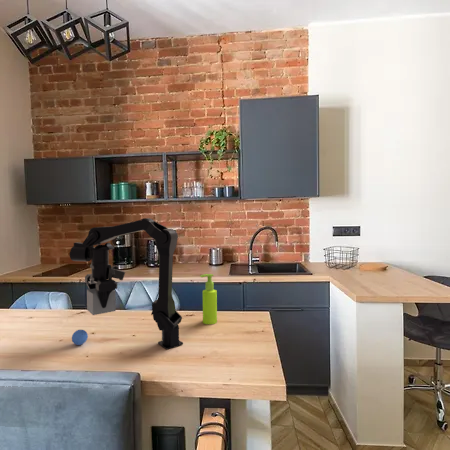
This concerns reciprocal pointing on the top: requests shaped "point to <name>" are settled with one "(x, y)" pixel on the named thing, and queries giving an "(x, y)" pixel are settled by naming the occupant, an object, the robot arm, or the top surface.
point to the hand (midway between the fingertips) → (100, 305)
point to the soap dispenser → (209, 302)
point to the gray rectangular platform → (95, 304)
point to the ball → (79, 337)
